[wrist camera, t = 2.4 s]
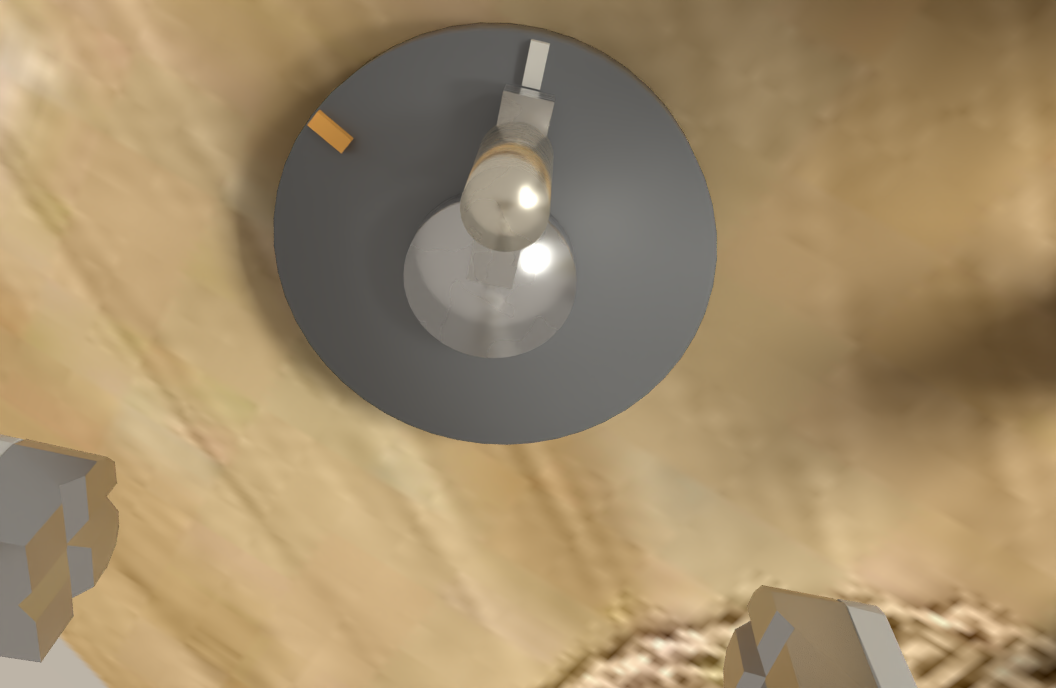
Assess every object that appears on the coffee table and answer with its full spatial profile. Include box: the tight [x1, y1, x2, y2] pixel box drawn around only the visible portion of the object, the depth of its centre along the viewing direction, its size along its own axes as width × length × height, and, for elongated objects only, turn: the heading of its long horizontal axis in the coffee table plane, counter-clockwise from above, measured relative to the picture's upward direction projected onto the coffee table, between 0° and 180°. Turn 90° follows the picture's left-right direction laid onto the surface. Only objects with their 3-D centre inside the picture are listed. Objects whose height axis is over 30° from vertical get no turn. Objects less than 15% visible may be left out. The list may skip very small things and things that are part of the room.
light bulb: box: [403, 84, 576, 358], centre depth 25 cm, size 10×6×6 cm, turn 168°
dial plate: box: [274, 23, 717, 445], centre depth 30 cm, size 16×16×2 cm
